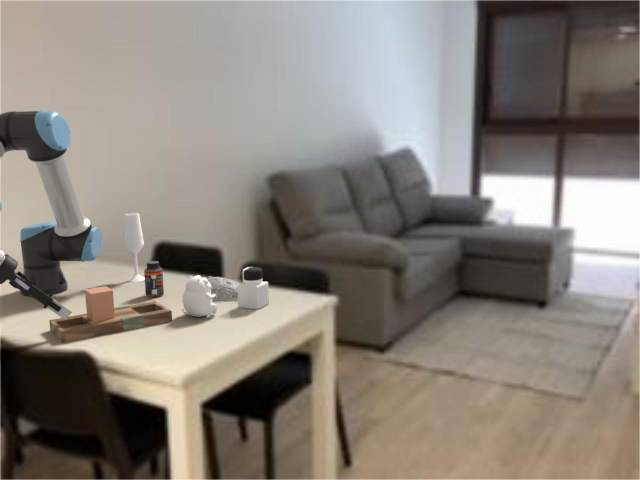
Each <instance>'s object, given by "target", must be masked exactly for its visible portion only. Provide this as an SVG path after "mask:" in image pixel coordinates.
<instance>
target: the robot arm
mask: <svg viewBox="0 0 640 480" xmlns="http://www.w3.org/2000/svg"><path fill="white" fill-rule="evenodd" d="M70 143H71V130H70V127H69V125H68V121H67V120H66V119H65V117H64V116H63V115H62V114H60V113H59V112H58V111H53V110H35V111H34V110H32V111H31V110H30V111H29V110H28V111H27V110H26V111H15V110H14V111H6V112H5V111H4V112H3V113H0V159H1V158H2V157H4V155H5V153H7V152H12V151H25V154H26V156H27V159H28V160H29V161H30V162H32V163H35V165H36V168H37V170H38V171H37V172H38V173H39V176H40V178H41V182H42V185H43V188H44V190H45V193H46V196H47V199H48V201H49V205H50V207H51V210H52V214H53V216H54V219H55V221H56V222H55V221H47V222H42V223H36V224H32V225H27V226H24V227H23V228H21V229H20V233H19V235H20V237H19V239H20V246H21V247H20V249H21V256H22V266H23V272H21V271H17V272H15V271H16V270H17V267H18V266H19V263H18V261H17V260H16V259H15V258H14V257H12V256H10V255H9V254H6V253H5V251H4V250H3V249H2V248H0V285H2V284H4V283H5V282H6V281H8V284H9V285H10V286H12V287H13V288H14V289H17V290H19V292H20V295H23V296H27V297H31V298H33V299H35V300H36V301H38V302H39V303H40V304H42V305H43V307H42V308H43V309H45V310H46V309H49V310H50V311H51V312H53V313H54V314H56V315H58V316H59V317H60V318H63V319H65V320H66V319H67V318H68V317H70V316H71V314H72V313H73V312H72V310H70V309H69V308H67V307H66V306H64V305H63V304H61V302H59V301H57V300H56V299H54V298H53V296H54V295H56V294H60V293H62V292H65V291H66V290H68V281H67V279H66V276H65V273H64V271H63V270H62V268H61V262H82V263H83V262H93V261H95V260H96V259H97V258H98V257H99V254H100V253H101V250H102V249H101V248H102V243H103V235H102V234H103V233H102V231H101V228H99V227H98V226H92V223H91V220H90V218H88V216H84V213H83V210H82V206H81V204H80V201H79V198H78V194H77V192H76V188H75V186H74V183H73V180H72V176H71V173H70V169H69V167H68V164H67V161H66V157H65V155H66V153H67V152H68V147H69V146H70ZM2 208H3V206H2V203H1V201H0V212H1V211H2Z"/></svg>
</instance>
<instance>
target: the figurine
mask: <svg viewBox="0 0 640 480" xmlns="http://www.w3.org/2000/svg"><path fill="white" fill-rule="evenodd" d="M207 278H208V277H203V276H201V275H199V274H197V275H195V276H193V275H189V279H188V280H187V282H186V283H185V290H184V292H183V294H182V304H183V306H182V307H183V309H181V312H182V314H185V315H190V316H192V317H196V318H197V317H198V318H200V317H204V316H208V315H210V314H211V313H212V315H216V313H217V309H218V306H217V304H216V303H213V301H212V299H213V298H215V297H217V296H216V295H215V294H211V284H210V283H209V282H208V280H207ZM184 310H185V311H184Z"/></svg>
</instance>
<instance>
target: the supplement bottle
mask: <svg viewBox="0 0 640 480" xmlns="http://www.w3.org/2000/svg"><path fill="white" fill-rule="evenodd" d="M143 271H144V273H143V274H144V276H143V277H145V280H144V285H145V287H144V288H145V289H144V292H145V296H146V297H149V298H158V297H162V296H163V295H164V294H165V293H164V291H165V290H164V272H163V268H162V267H161V266H160V262H159V261H157V260H151V261H147V262H146V268H145V269H144V270H143Z"/></svg>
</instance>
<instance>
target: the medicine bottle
mask: <svg viewBox="0 0 640 480" xmlns="http://www.w3.org/2000/svg"><path fill="white" fill-rule="evenodd" d="M263 280H264V279H263V269H262V267H258V266H247V267H246V268H243V269H242V283H239V285H238V286H237V289H238V297H237V299H238V302H237V306H238V308H241V309H249V310H250V309H251V310H259V309H261V308H264V307H265V306H267V305H268V304H270V300H269V297H270V296H269V295H270V293H269V281H263Z"/></svg>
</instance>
